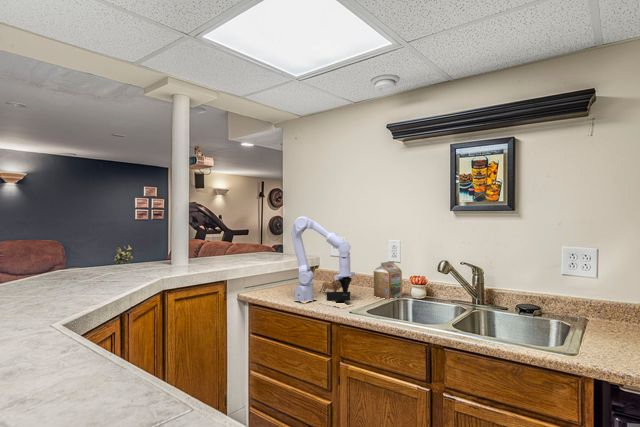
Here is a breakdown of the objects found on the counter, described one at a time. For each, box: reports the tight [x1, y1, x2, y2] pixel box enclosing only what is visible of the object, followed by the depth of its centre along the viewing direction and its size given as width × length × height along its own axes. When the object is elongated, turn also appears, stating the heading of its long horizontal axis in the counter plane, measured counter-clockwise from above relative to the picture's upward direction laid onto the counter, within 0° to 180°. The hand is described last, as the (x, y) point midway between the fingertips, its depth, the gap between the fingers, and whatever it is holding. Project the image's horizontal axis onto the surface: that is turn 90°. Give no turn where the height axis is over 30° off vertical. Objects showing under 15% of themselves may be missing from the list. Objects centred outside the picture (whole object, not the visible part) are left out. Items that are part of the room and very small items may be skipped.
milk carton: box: [373, 260, 403, 300], centre depth 203 cm, size 11×11×19 cm
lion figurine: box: [318, 280, 342, 294], centre depth 212 cm, size 15×5×9 cm, turn 69°
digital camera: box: [326, 291, 351, 303], centre depth 191 cm, size 10×5×7 cm
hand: (345, 292), depth 193 cm, fingers closed
